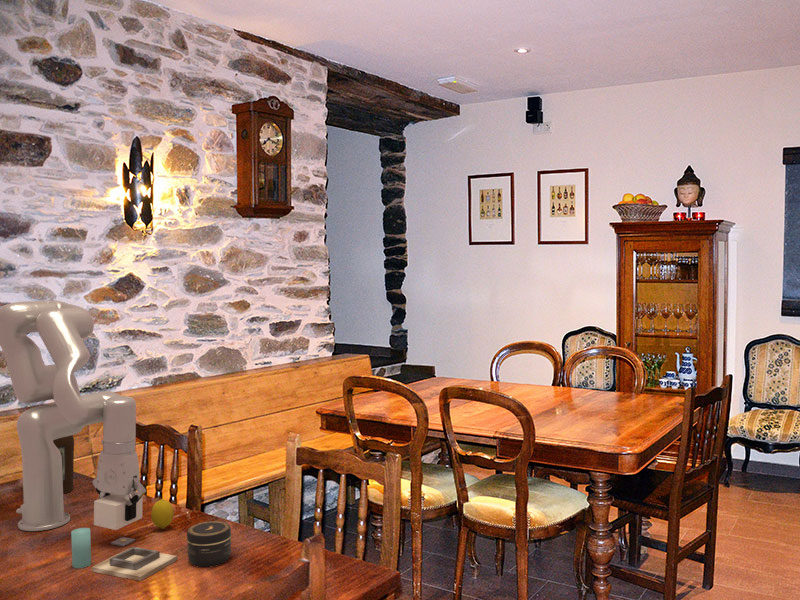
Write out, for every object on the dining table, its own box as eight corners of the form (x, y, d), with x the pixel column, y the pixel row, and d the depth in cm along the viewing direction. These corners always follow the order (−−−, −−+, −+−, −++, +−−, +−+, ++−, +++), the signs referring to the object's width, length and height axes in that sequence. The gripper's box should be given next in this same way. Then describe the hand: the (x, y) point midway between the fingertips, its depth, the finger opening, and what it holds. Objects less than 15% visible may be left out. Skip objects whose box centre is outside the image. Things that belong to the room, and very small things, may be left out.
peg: (68, 566, 165) (67, 532, 164) (82, 560, 168) (81, 526, 168) (81, 569, 163) (80, 534, 163) (95, 562, 167) (94, 528, 167)
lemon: (167, 533, 185) (166, 503, 185) (147, 532, 186) (146, 501, 186) (177, 526, 190) (177, 496, 190) (158, 524, 191) (158, 495, 191)
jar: (233, 550, 174) (232, 518, 173) (230, 566, 164) (229, 534, 164) (190, 553, 172) (189, 521, 172) (185, 570, 162) (184, 537, 162)
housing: (93, 524, 177) (94, 501, 176) (120, 513, 185) (121, 490, 185) (115, 530, 174) (116, 505, 174) (142, 517, 182) (142, 494, 182)
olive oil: (42, 487, 225) (40, 408, 224) (79, 485, 228) (76, 406, 226) (32, 498, 215) (30, 415, 214) (70, 495, 217) (68, 413, 216)
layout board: (91, 571, 162) (91, 560, 162) (130, 551, 173) (130, 541, 173) (140, 581, 157) (140, 569, 157) (177, 560, 168) (176, 549, 168)
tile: (110, 544, 178) (110, 541, 178) (122, 538, 182) (122, 536, 182) (123, 546, 177) (123, 544, 176) (135, 540, 180) (135, 538, 180)
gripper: (80, 445, 178) (80, 515, 179) (135, 455, 171) (135, 528, 173) (103, 438, 185) (103, 505, 186) (157, 447, 178) (156, 517, 180)
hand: (118, 516), depth 179 cm, fingers closed on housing, 7 cm apart
